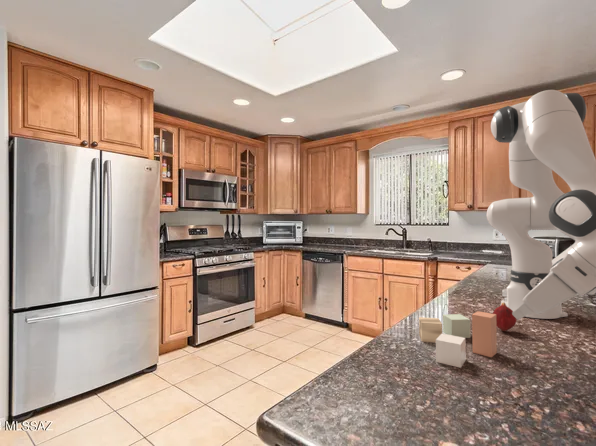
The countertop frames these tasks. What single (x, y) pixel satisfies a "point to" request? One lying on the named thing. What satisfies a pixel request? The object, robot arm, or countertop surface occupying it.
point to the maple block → (429, 329)
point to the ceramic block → (450, 350)
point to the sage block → (456, 325)
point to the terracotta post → (484, 333)
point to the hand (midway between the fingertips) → (520, 311)
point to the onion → (504, 317)
